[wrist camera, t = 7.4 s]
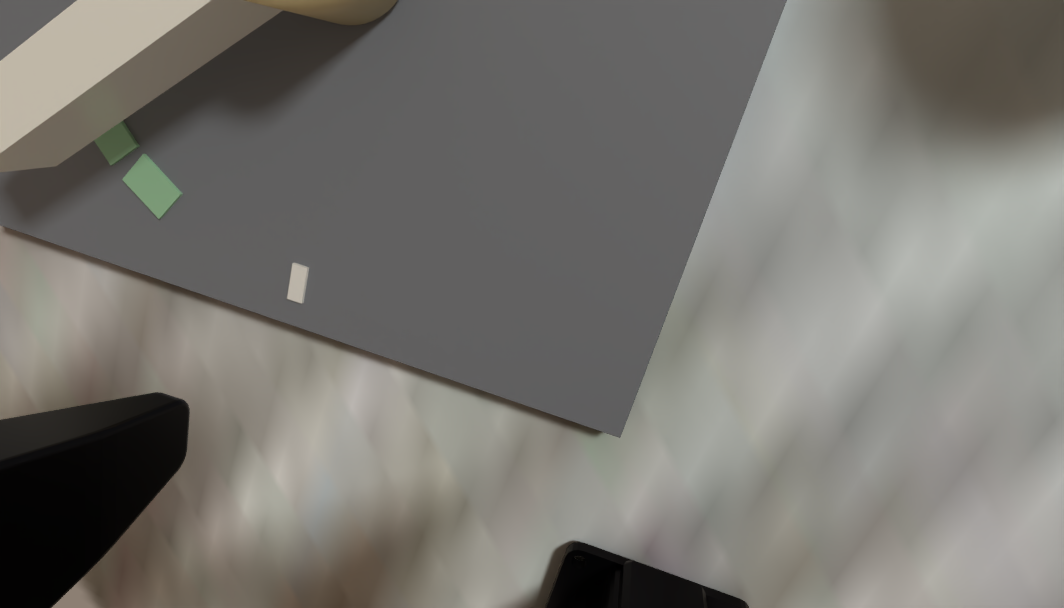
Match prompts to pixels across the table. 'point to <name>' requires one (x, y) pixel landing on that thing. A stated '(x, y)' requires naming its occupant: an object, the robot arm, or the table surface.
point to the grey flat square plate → (430, 181)
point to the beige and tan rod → (124, 64)
